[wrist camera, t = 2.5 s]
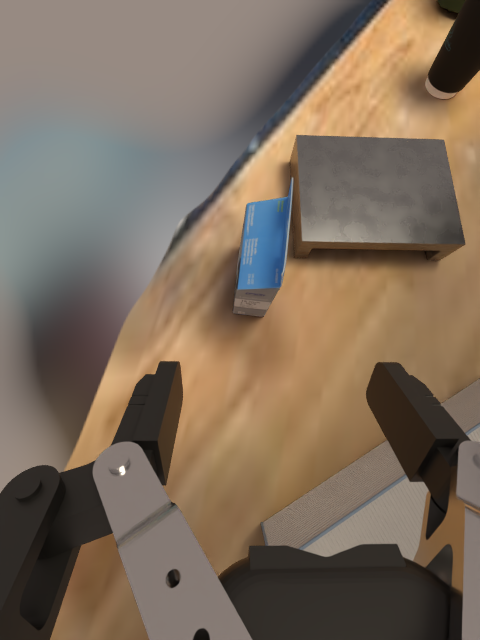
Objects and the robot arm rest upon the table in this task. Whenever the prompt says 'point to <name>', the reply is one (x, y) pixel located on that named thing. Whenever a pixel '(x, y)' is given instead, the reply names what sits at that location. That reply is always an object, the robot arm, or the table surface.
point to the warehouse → (367, 499)
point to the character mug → (452, 5)
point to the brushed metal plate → (373, 195)
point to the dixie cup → (457, 54)
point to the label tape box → (262, 254)
